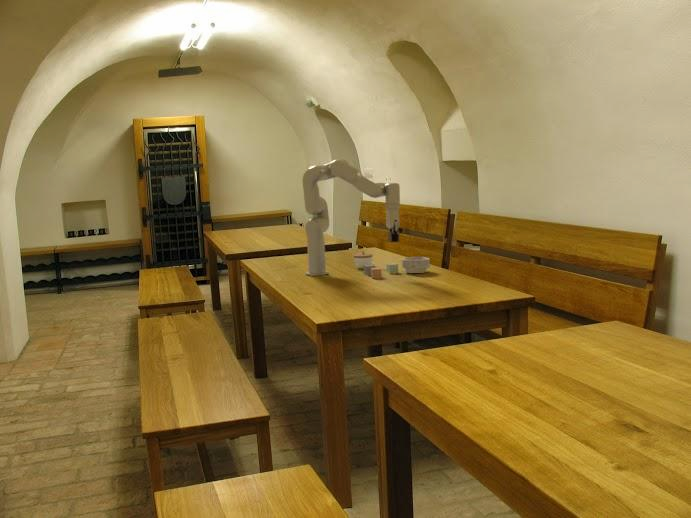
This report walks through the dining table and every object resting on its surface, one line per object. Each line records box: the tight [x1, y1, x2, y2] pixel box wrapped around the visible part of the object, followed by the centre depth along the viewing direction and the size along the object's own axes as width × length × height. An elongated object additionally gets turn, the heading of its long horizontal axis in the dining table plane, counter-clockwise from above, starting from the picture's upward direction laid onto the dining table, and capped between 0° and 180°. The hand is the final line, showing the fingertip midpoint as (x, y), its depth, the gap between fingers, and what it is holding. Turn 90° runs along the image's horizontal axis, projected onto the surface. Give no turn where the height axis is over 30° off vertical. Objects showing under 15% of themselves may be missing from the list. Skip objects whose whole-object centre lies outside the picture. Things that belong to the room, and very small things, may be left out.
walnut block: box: [387, 231, 400, 243], centre depth 376 cm, size 5×5×5 cm
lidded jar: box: [353, 251, 373, 270], centre depth 409 cm, size 11×11×9 cm
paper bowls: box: [401, 256, 431, 274], centre depth 388 cm, size 15×15×8 cm
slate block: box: [362, 264, 376, 276], centre depth 387 cm, size 5×5×5 cm
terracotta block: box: [370, 267, 383, 279], centre depth 377 cm, size 5×5×5 cm
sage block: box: [385, 262, 399, 274], centre depth 390 cm, size 5×5×5 cm
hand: (393, 240), depth 376 cm, fingers closed on walnut block, 5 cm apart
